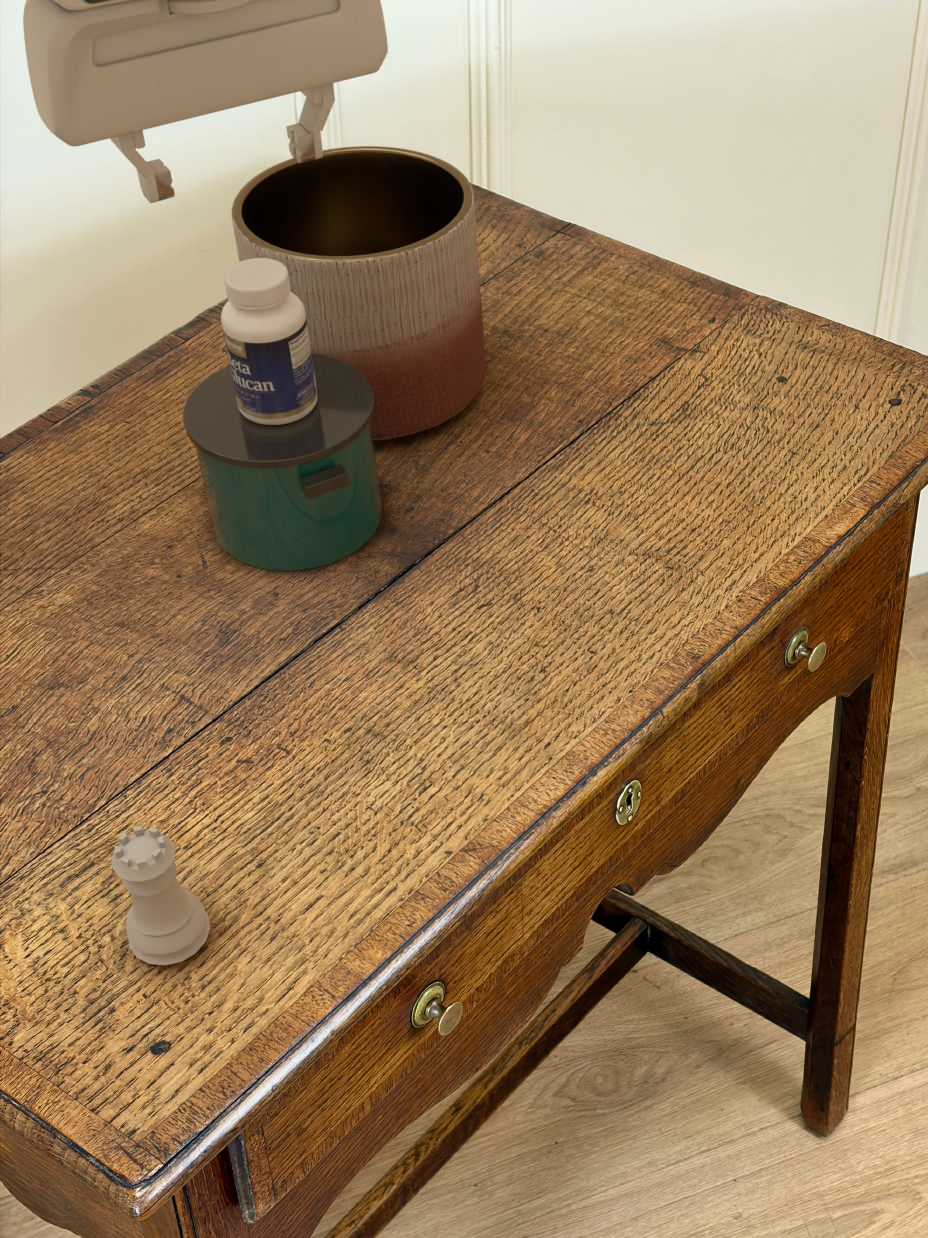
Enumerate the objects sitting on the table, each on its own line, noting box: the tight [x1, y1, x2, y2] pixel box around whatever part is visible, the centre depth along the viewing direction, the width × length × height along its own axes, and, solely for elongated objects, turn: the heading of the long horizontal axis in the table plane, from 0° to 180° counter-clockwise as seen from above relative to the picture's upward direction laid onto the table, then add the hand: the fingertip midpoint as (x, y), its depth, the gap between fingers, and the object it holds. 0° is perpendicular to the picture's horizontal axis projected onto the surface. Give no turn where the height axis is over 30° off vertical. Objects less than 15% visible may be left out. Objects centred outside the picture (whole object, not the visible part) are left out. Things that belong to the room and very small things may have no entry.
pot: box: [182, 354, 383, 572], centre depth 103 cm, size 13×15×10 cm
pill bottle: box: [220, 258, 317, 425], centre depth 96 cm, size 5×5×10 cm
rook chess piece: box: [110, 824, 211, 966], centre depth 78 cm, size 4×4×8 cm
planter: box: [231, 145, 486, 443], centre depth 112 cm, size 18×18×16 cm
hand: (234, 176), depth 88 cm, fingers open, 8 cm apart
